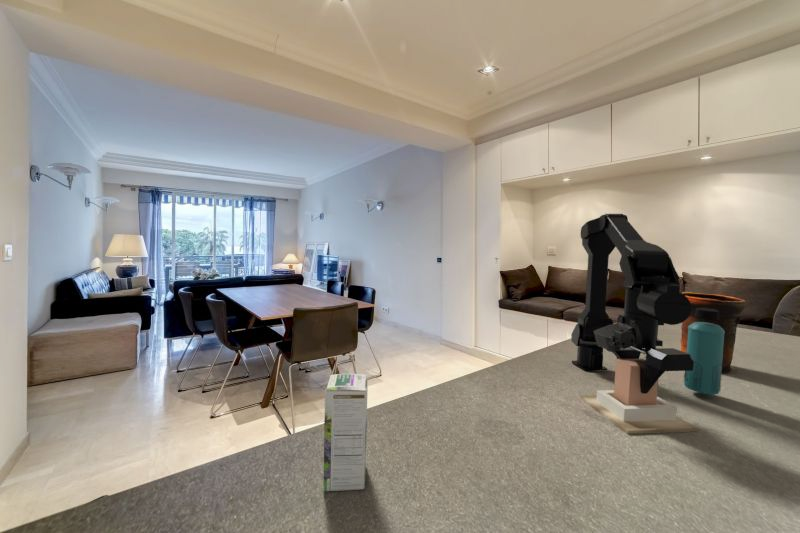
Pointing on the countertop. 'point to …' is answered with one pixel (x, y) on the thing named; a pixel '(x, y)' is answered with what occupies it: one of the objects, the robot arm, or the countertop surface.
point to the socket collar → (636, 408)
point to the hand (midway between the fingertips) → (635, 388)
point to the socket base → (641, 426)
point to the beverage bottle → (705, 353)
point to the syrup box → (345, 432)
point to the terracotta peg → (632, 384)
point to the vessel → (716, 321)
